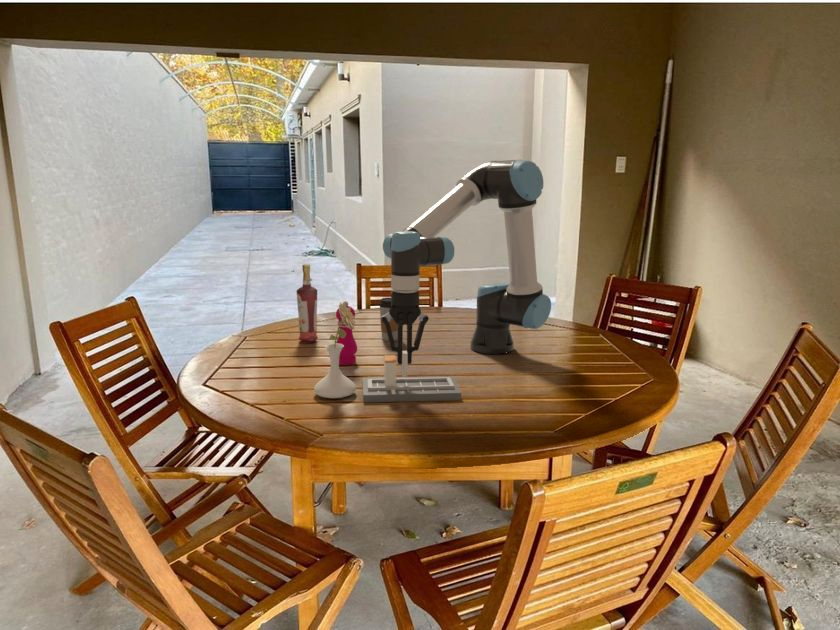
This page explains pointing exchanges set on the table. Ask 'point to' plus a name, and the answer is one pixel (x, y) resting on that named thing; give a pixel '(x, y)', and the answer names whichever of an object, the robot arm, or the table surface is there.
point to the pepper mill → (346, 341)
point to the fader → (389, 370)
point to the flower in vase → (337, 363)
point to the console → (411, 389)
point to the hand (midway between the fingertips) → (404, 374)
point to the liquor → (307, 308)
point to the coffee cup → (384, 309)
